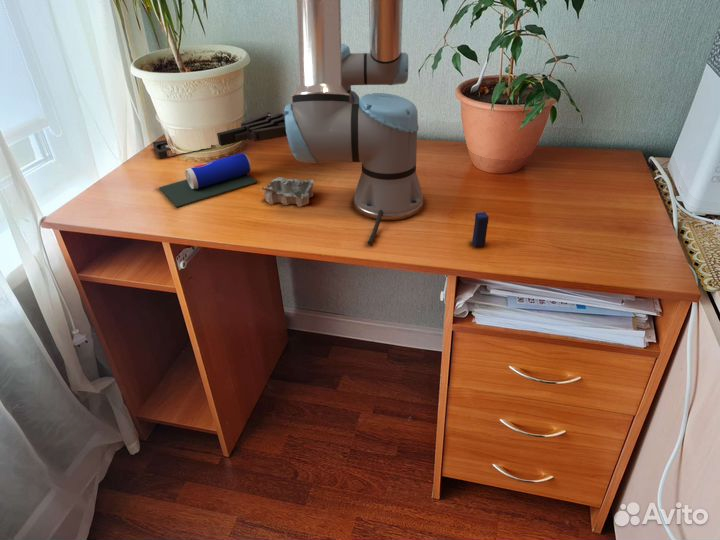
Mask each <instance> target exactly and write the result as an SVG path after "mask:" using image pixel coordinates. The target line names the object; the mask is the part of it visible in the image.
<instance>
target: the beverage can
mask: <svg viewBox="0 0 720 540" xmlns="http://www.w3.org/2000/svg"><path fill="white" fill-rule="evenodd" d="M252 170H253V166H252V162H251V159H250V157H249V156H248V154H246V153H243V152H241V153H238V154H233V155H230V156H227V157H223V158H220V159H216V160H212V161H209V162H204V163H201V164H198V165H194V166H190V167H189V168H187V169H185V171H184V174H185V178H186V180H187V181H188V183H189V185H190V187H191V188H192V189H199V188H202V187H206V186H209V185H212V184H216V183H219V182H222V181H226V180H229V179H232V178H236V177H239V176H242V175H246V174H248V175H250V173H251V172H252Z"/></svg>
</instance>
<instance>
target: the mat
mask: <svg viewBox="0 0 720 540" xmlns="http://www.w3.org/2000/svg"><path fill="white" fill-rule="evenodd" d="M257 182H258V181H257V180H255V179H254V178H253V177H252V176H250V174H246V175H242V176H239V177H236V178H232V179H229V180H226V181H222V182H219V183H216V184H212V185H209V186H206V187H202V188H199V189H192V188H191V187H190V185H189V183H188V181H187V179H183V180H180V181H176V182H174V183H173V182H172V183H170V184H167V185H163V186H159V190H160V191H161V192H162V193H163V195H164V196H165V197H166V198H167V199H168V200H169V201H170V202H171V203H172V205H174V206H175V208H176V209H177V208H181V207H184V206H188V205H192V204H194V203H197V202H201V201H204V200H207V199H211V198H214V197H217V196H220V195H222V194H223V195H224V194H226V193H229V192H232V191H236V190H239V189H242V188H245V187H249V186H253V185H255V184H258V183H257Z"/></svg>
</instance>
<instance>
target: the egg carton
mask: <svg viewBox="0 0 720 540" xmlns="http://www.w3.org/2000/svg"><path fill="white" fill-rule="evenodd" d="M261 189H262V190H263V191H264V199H265V202H267V203H268V204H269V205H274V204H277V203H281V204H282V205H283V206H289V205H291V204H295V205H296V206H297V207H303V206H306V205H308V204H309V203H310V198H312V197H313V196H314V179H309V180H308V179H306V180H304V179H301V180H300V178H285V177H282V176H281V177H280V176H279V177H276V178H274V179H272V180H271V181H270V182H269V184H267V187H266V186H262V188H261Z"/></svg>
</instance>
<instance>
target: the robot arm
mask: <svg viewBox="0 0 720 540" xmlns="http://www.w3.org/2000/svg"><path fill="white" fill-rule="evenodd" d="M295 2H296V21H297V22H296V26H297V53H298V57H297V58H298V82H299V83H298V84H299V85H298V87H297V89H295V91H294V92H293V93H292V95H291V96H292V97H291V99H292V100H291V101H292V102H291V103H289V104H286V105H285V106H284V112H283V113H282V112H278V113H275V115H272V113H271V112H268V111H267V112H265V113H264V114H263V115H260V116H256V117H254V118H251V119H248V120H246V121H243V122H241V123H240V127H236V128H233V129H228V130H224V131H219V132H217V133H216V137H217V142H218V145H220V147H224V146H228V145H232V144H235V143H239V142H243V141H247V140H248V141H252V140H253V142H263V141H266V140H272V139H278V138H279V139H280V138H284V137H285V138H287V141H288V147H289V149H290V152H291V154H292V156H293V158H294V159H296V161H298V162H302V163H314V164H319V163H320V164H322V163H323V164H324V163H330V164H331V163H361V173H360V175H359V179H358V183H357V185H356V189H355V190H354V191H355V192H354V196H353V204H354V209H355V210H356V211H357V212H358V213H359V214H360V215H362V216H364V217H367V218H370V219H374V220H375V222H374V226H373V228H372V231H371V234H370V236H369V239H368V241H367V244H368V246H372V245H373V242H374V240H375V238H376V236H377V233H378V229H379V226H380V223H381V221H398V220H399V221H400V220H405V219H407V218H410V217H413V216H415V215H416V214H418V213H419V212H420V211H421V210H422V208H423V207H424V194H423V190H422V187H421V184H420V180H419V178H418V174H417V154H418V153H417V152H418V151H417V149H418V131H419V127H420V126H419V118H418V113H419V112H418V108H417V106H416V104H414V103H413V102H412V101H411V100H409V99H407V98H406V97H403V96H400V95H396V94H391V93H384V92H373V93H367V94H363V95H362V96H361V97H360V96H359V95H358V94H357V92H356V91H354V90H352V86H396V85H404V84H406V83H407V82H408V81H409V54H408V53H407V52H402V42H403V41H402V39H403V36H402V35H403V12H404V11H403V9H404V0H368V23H369V24H368V25H369V26H368V27H369V52H366V53H365V52H359V53H358V52H357V53H354V52H353V53H351V51H350V50H351V49H350V46H349V45H347V44H344V43H342V10H341V9H342V8H341V7H342V5H341V0H296V1H295Z"/></svg>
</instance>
